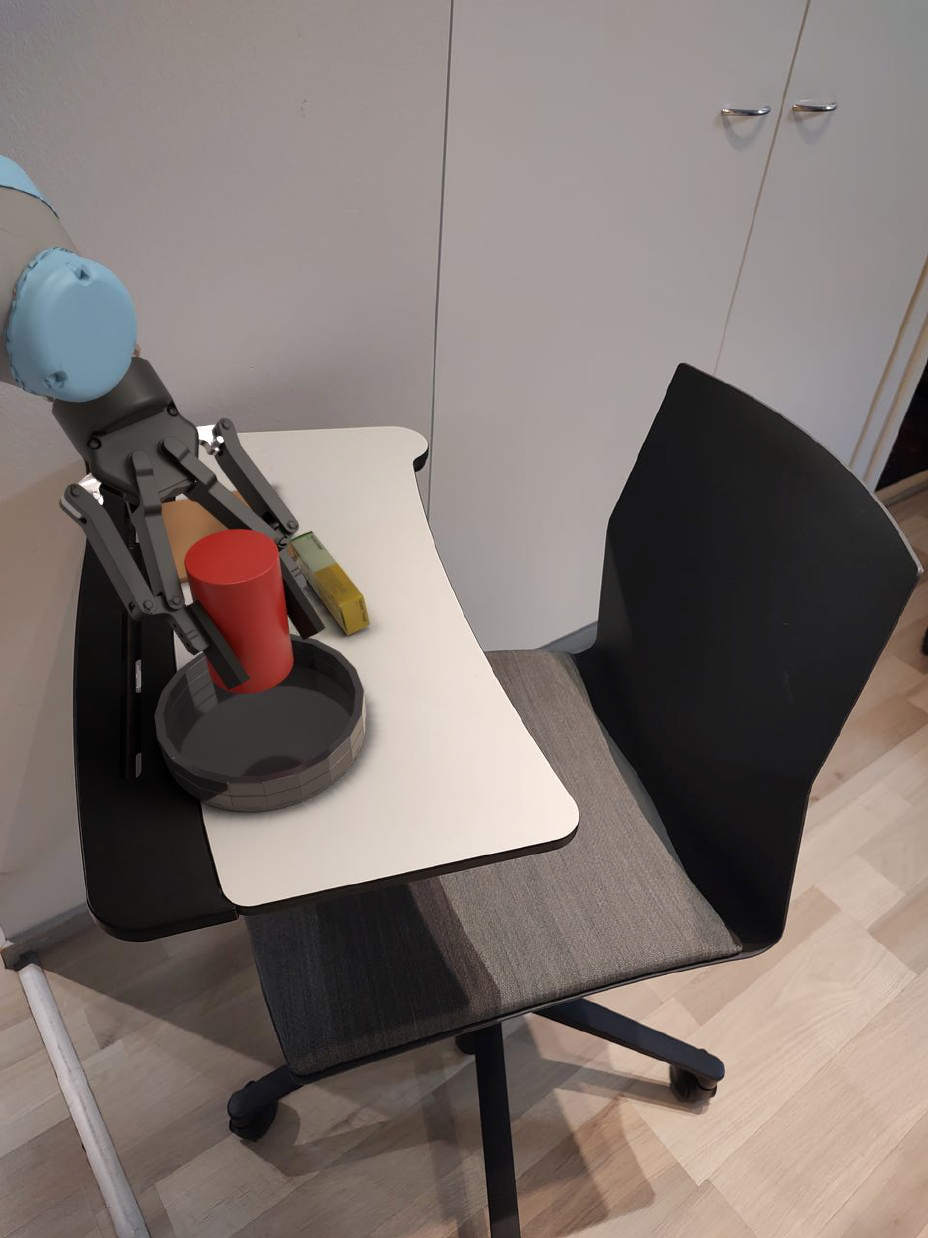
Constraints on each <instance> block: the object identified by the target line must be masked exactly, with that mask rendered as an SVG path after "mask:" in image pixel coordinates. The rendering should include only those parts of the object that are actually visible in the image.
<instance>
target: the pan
mask: <svg viewBox="0 0 928 1238" xmlns="http://www.w3.org/2000/svg"><path fill="white" fill-rule="evenodd" d="M290 638H291V645H292V652H293V666H292V669H291V671H290V673H289V674H288V675H287V677H286V678H285V679H284V680H283V681H281V682H280V683H279V684H277V685H276V686H274V687H272V688H270V689H267V690H265V691H261V692H257V693H249V694H240V693H234V692H230V691H227V690H224V689H222V688H221V687H219V686H218V685H217V684H215V683H214V681H213V680H212V679H211V677H210V674H209V670H208V665H207V661H206V657H205V654H204V653H203V651H201V652H199V653H198V654H197V655H195V657H194V658H192V659H191V660H189V661H188V662H187V663H185V664H184V665H183V666H181V667H180V668H179V669H178V670H177V671H176V672H175V674H174V675H173V676H172V678H171V679H170V680H169V681H168V683H167V684H166V686H165V687H164V688H163V689H162V691H161V694H160V697H159V700H158V703H157V706H156V709H155V713H154V722H155V723H154V724H155V730H156V731H155V732H156V738H157V742H158V744H159V747H160V751H161V755H162V757H163V761H164V764H165V765H166V766H167V769H168V770H169V772H170V774H171V776H172V777H173V779H174V781H175V782H176V783H177V784H178V785H179V786H180V787H181V788H182V789H183V790H184V791H185V792H186V793H188V794H189V795H190V796H191V797H193V798H194V799H196V800H198V801H200V802H202V803H203V804H207V805H209V806H212V807H215V808H219V809H223V810H227V811H234V812H242V813H257V812H268V811H274V810H275V811H276V810H279V809H284V808H288V807H291V806H294V805H296V804H300V803H302V802H304V801H305V802H306V801H307V800H309V799H312V798H314V797H315V796H317V795H319V794H321V793H322V792H323V791H325V790H327V789H329V787H331V786H332V785H334V784H335V783H337V781H338V780H339V779H341V778H342V776H343V775H344V774H345V773H346V772H347V771H348V770H349V769H350V767H352V765H353V763H354V762H355V760H356V759H357V757H358V756H359V753H360V751H361V748H362V746H363V744H364V739H365V736H366V718H367V711H366V710H367V709H366V699H365V689H364V687H363V683H362V681H361V678H360V676H359V673H358V671H357V668H356V667H355V666H354V665H353V664H352V663H351V662H350V660H349V659H348V658H347V657H345V655H344V654H343V653H342V652H341V651H339V650H337V649H336V648H333V647H332V646H330V645H328V644H326V643H324V642H322V641H320V640H319V639H315V638H312V637H309V638H307V639H305V640H303V639H302V637H301V636H300V635H297V634H294V633H290Z"/></svg>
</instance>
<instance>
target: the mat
mask: <svg viewBox="0 0 928 1238" xmlns="http://www.w3.org/2000/svg"><path fill="white" fill-rule="evenodd" d="M231 492H232V493H233V494H234V495H235V496H236V497H237V498H238V499H240V500H241V501H242V502H243V503H244V504H245V505H246V506H248V507H249V508H250V506H249V505H248V504H247V503H246V501H245V500H244V499H243V497H242V496H241V495H240V493H239V492H238V491H237V490H233V491H231ZM161 504H162V518H163V521H164V525H165V529H166V532H167V536H168V539H169V543H170V547H171V550H172V554H173V558H174V561H175V565H176V569H177V572H178V576H179V580H180V583H181V584H182V583H188V578H187V574H186V570H185V565H184V559H185V556H186V553H187V551H188V550H189V549H190V547H191V546H192V545H193V544H194V543H196V542H197V541H198V540H200V539H202V538H204V537H206V536H208V535H210V534H213V533H216V532H220V531H225V530H229V529H228V528H227V527H225V526H224V525H223V524H222V523H221V522H220V521H218V520H217V519H216V518H215V517H214V516H213V515H211V514H210V513H209V512H208V511H207V510H206V509H204V508H203V507H202V506H201V505H200V504H199V503H197V502H193V501H191V500H189V499H188V498H185V499H178V500H173V501H168V502H161ZM250 509H251V508H250ZM251 510H252V509H251ZM252 511H253V510H252ZM287 550H288V552H289V554H290V555H291V557H292V558H293V560H294V561H295V562H296V559H295V556H294V553H293V549H292V546H291V543H289V545H288V546H287Z"/></svg>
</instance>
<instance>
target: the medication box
mask: <svg viewBox="0 0 928 1238" xmlns="http://www.w3.org/2000/svg"><path fill="white" fill-rule="evenodd" d="M290 543H291V546H292V549H293V553H294V556H295V559H296V561H295V563H296V565H297V566H298V568H299V569H300V571H301V573H302V574H303V576H304V577H305V579H306V582H308V583H309V585H310V586H311V588H312V589H313V590H314V592H315V593H316V595H317V596H318V598H319V599H320V600H321V601H322V603H323V604H324V606H325V608H327V610H328V611H329V613H330V614H331V615H332V617H333V618H334V619H335V621H336V622H337V624H338V625H339V626H340V628H341V629H342V630H343V632H344V633H345V634H346V635H347V636H350V635H351V634H354V633H357V632H359V631H360V630H363V629H364V628H366V627H368V626H370V625H371V622H370V618H369V614H368V609H367V605H366V601H365V597H364V594H363V593H362V592H361V590H360V589H359V588H358V587H357V585H356V584H355V583H354V582H353V580H352V579H351V577H349V575H348V574H347V573H346V572H345V570H344V569H343V567H342V566H341V565H340V564H339V563H338V561H337V560H336V559H335V558H334V556H333V555H332V554H331V553H330V551H329V550H328V549H327V547H326V546H325V545H324V544H323V542H322V541H321V540H320V539H319V538H318V536H317V535H316V533H314V531H313V530H309V531H307V532H304V533H302V534H300V535H297V536H295V537H294V538H291V539H290Z"/></svg>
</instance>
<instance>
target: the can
mask: <svg viewBox="0 0 928 1238" xmlns="http://www.w3.org/2000/svg"><path fill="white" fill-rule="evenodd" d="M184 565H185V570H186V574H187V578H188V582H187V583H188V587H189V591H190V595H191V599H192V603H193V602H195V601H196V600H199V601H200V603H201V604H202V606H203V607H204V609H205V610H206V612H207V613H208V615H209V616H210V618H211V619H212V621H213V623H214V624H215V626H216V627H217V629H218V630H219V632H220V633H221V635H222V636H223V638H224V639H225V641H226V642H227V644H228V645H229V647H230V648H231V650H232V651H233V653H234V654H235V656H236V657H237V659H238V660H239V662H240V664H241V665H242V667H243V668H244V670H245V671H246V673H247V674H248V676H249V677H250V679H249V680H247V681H246V682H244V683H243V684H241V685H239V686H236V687H234V688H232V689H230V690H228V689H227V687H226V686H225V684H224V683H223V681H222V680H221V678H220V677H219V675H218V674H217V672H216V671H215V669H214V668H213V666H212V665H211V663H210V662H209V660H208V659H207V657H206V656H205V657H206V661H207V665H208V670H209V674H210V677H211V679H212V680H213V681H214V683H215V684H217V685H218V686H219V687H221V688H222V689H224V690H227V691H230V692H234V693H240V694H249V693H257V692H261V691H265V690H267V689H270V688H272V687H274V686H276V685H277V684H279V683H280V682H281V681H283V680H284V679H285V678H286V677H287V675H288V674H289V673H290V671H291V669H292V666H293V652H292V645H291V638H290V634H291V632H290V623H289V617H288V616H287V609H286V602H285V595H284V588H283V581H282V573H281V566H280V559H279V552H278V548H277V545H276V544H275V543H274V541H273V540H272V539H271V538H269V537H268V536H266V535H264V534H262V533H260V532H256V531H252V530H244V529H233V530H225V531H220V532H216V533H213V534H210V535H208V536H206V537H204V538H202V539H200V540H198V541H197V542H196V543H194V544H193V545H192V546H191V547H190V549H189V550H188V551H187V553H186V556H185V559H184Z"/></svg>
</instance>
